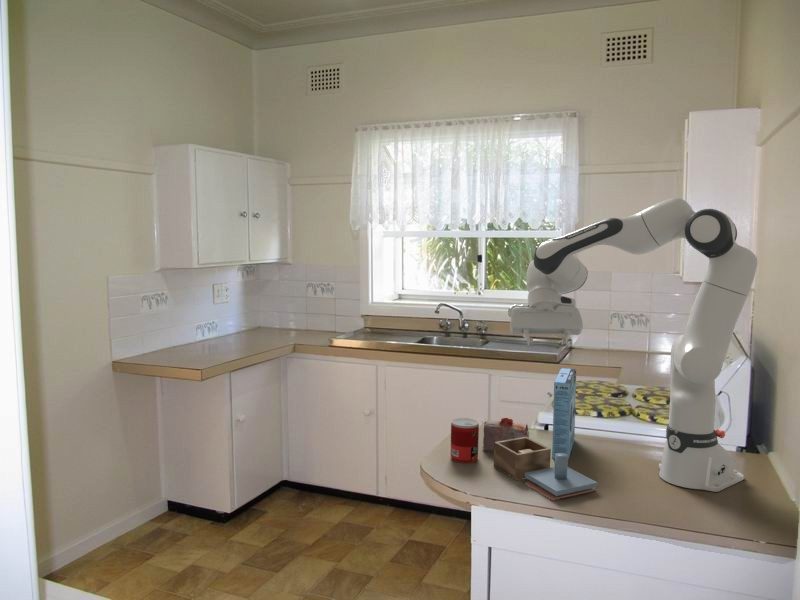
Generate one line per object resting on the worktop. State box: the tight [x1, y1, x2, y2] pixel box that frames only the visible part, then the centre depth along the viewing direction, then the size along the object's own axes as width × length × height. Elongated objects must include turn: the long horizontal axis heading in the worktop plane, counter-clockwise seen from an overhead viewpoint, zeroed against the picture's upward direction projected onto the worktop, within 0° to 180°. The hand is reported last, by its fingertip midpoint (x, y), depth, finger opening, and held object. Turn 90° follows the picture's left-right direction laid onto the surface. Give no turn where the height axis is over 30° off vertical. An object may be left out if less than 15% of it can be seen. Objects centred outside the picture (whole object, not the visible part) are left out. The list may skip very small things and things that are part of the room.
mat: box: [524, 480, 597, 501], centre depth 170 cm, size 14×11×1 cm
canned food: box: [450, 417, 480, 464], centre depth 189 cm, size 8×8×11 cm
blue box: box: [551, 367, 577, 461], centre depth 197 cm, size 20×5×23 cm, turn 160°
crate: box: [493, 437, 552, 481], centre depth 181 cm, size 11×11×7 cm
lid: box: [525, 453, 598, 496], centre depth 169 cm, size 13×13×8 cm
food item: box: [482, 417, 530, 452], centre depth 196 cm, size 14×8×10 cm, turn 78°
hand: (547, 345), depth 182 cm, fingers open, 8 cm apart
